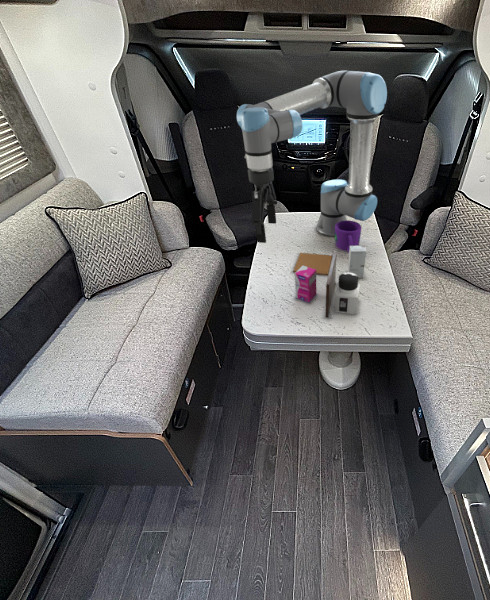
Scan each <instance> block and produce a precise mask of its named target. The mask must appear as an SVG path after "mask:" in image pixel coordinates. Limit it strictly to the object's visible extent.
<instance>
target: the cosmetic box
mask: <svg viewBox="0 0 490 600" xmlns="http://www.w3.org/2000/svg"><path fill="white" fill-rule="evenodd" d="M366 258H367V248H366V245H358V246H350V250H349V253H348V261H347V272H351V273H354V274H356V275H357V276H358V278H359V279H362V278H364V274H365V266H366Z"/></svg>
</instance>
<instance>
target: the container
mask: <svg viewBox="0 0 490 600" xmlns="http://www.w3.org/2000/svg"><path fill="white" fill-rule="evenodd" d="M359 279H360V278H358V276H357V275H356V274H354V273H351V272H343V273H341V274H339V276H338V281H337V285H336V289H335V294H334V307H333V310H334V312H335V313H342V314H343V313H344V314H350V315H357V314H358V307H359V298H360V289H361V284H360V283H359Z"/></svg>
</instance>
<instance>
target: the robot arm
mask: <svg viewBox="0 0 490 600" xmlns="http://www.w3.org/2000/svg"><path fill="white" fill-rule="evenodd" d="M387 99H388V89H387V85H386V81H385V80H384V78H383V77H382V76H381V75H380V74H377V73H372V72H369V71H355V70H339V71H335V72H332V73H328V74H326V75H323V76H321V77H318V78H315V79H314V80H313V82H312V84H308V85H306V86H303V87H301V88H298V89H295V90H292V91H289V92H286V93H284V94H282V95H278V96H275V97H273V98H270V99H267V100H264V101H261V102H258V103H256V104H251V103H244V104H242V105H240V106H239V107H238V109H237V111H236V122H237V124H238V126H239V127H240V128H241V133H242V139H243V145H244V146H243V147H244V152H245V155H244V159H245V161H246V167H247V168H248V169H247V176H248V181H249V183H251V184H253V185H254V186H255V188H254V190H252V191H251V198H252V202H251V203H252V205H251V206H252V207H251V208H252V209H251V225H252V226H255V227H254V229H255V234H256V235H255V236H256V241H257V243H261V244H266V243H267V238H266V237H267V236H266V228H265V223H264V215H265V204H266V215H267V223H268V224H275V225H276V224H277V214H276V206H277V205H278V201H277V196H276V192H275V189H274V185H273V182H274V180H275V175H274V168H273V166H274V162H273V152H272V151H273V150H272V144H275V143H278V142H282V141H286V140H291V139H293V138H296V137H299V136H300V134H301V133H302V131H303V120H302V117H301V116H302V115H304V114H306V113H308V112H311V111H314V110H317V109H318V108H319V109H327V108H330V107H334V108H335V107H336V108H342V109H346V119H348V120H349V122H350V127H349V129H350V130H349V159H348V182H347V180H345V179H331V180H327V181H324V182H323V183H322V184H321V185H320V214H319V218H318V220H317V223H316V231H317V232H318V233H319V234H320V235H322V236H326V237H335V225H336V224H337V223H338V222H340V221H346V220H348V219H347V217H349V218H351V219H353V220H354V221H355V220H357V221H361V222H365V221H367V220H369V219H370V218H371V217H372V216H373V214H374V213H375V212H376V210H377V209H376V208H377V206H378V197H377V196H376V195H375V194H373V186H372V185H371V184H370V180H371V179H370V178H371V165H372V151H373V150H372V149H373V137H374V125H375V121H376V120H377V119H378V118H379V115H380V113H381V112H382V111H383V110H384V108H385V105H386V103H387Z"/></svg>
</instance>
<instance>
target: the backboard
mask: <svg viewBox="0 0 490 600" xmlns="http://www.w3.org/2000/svg"><path fill="white" fill-rule="evenodd" d="M337 254H338V253H337V251H333V254H332V260H331V264H330V268H329V273H328V275H327V280H326V283H325V314H324V316H325V318H326V319H328V318H329V316H330V311H331V307H332V301H333V297H334V291H335V288H336V287H335V286H336V275H337Z"/></svg>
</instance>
